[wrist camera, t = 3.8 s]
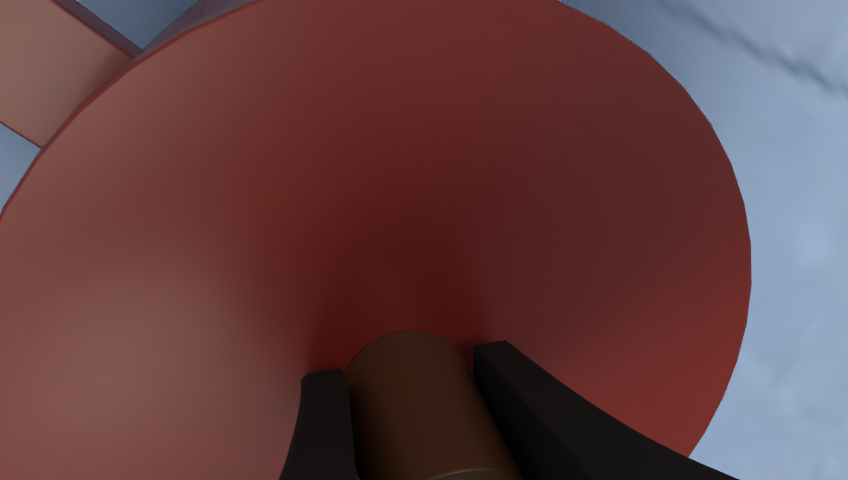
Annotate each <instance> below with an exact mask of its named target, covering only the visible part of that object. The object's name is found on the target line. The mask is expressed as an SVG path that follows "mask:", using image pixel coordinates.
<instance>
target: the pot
mask: <svg viewBox="0 0 848 480" xmlns="http://www.w3.org/2000/svg"><path fill="white" fill-rule="evenodd" d="M242 1H244V0H199V1H198V2H197V3H196V4H194V5H193V6H192V7H191V8H190V9H189V10H187V11H186V12H185V13H184V14H183V15H181V16H180V17H179V18H178V19H177V20H175V21H174V22H173V23H172V24H171V25H169V26H168V27H167V28H166V29H165V30H163V31H162V32H161V33H160V34H159V35H158V36H157V37H156V38H155V39H154V40H153V41H152V42H151V43H150V44H149V45H148V46H147V47H145V48H144V49H143V50H142V49H141V48H139V47H138V46H137V45H135V44H134V43H133V42H131V41H130V40H128V39H127V38H126V37H124V36H123V35H122V34H120V33H119V32H118V31H116V30H115V29H114V28H112V27H111V26H110V25H108V24H107V23H105V22H104V21H103V20H101V19H100V18H99V17H97V16H96V15H95V14H93V13H92V12H91V11H89V10H88V9H87V8H85V7H84V6H82V5H81V4H80V3H78V2H77V1H76V0H0V123H1V124H3V125H4V126H6V127H8V128H9V129H11V130H12V131H14V132H16V133H17V134H19V135H20V136H22V137H24V138H25V139H27V140H28V141H30V142H32V143H33V144H35V145H36V146H38V147H40V148H42V147H43V146H44V145H45V144H46V142H47V141H48V140H49V139H50V138H51V137H52V136H53V134H54V133H55V132H56V131H57V130H58V129H59V128H60V127H61V125H62V124H63V123H64V122H65V121H66V120H67V119H68V118H69V116H70V115H71V114H72V113H73V112H74V111H75V110H76V109H77V107H78V106H79V105H80V104H81V103H82V102H83V101H84V100H85V99H86V98H87V97H88V96H90V95H91V94H92V93H93V92H94V91H96V90H97V89H98V88H99V87H100V86H102V85H103V84H104V83H105V82H106V81H108V80H109V79H110V78H111V77H112V76H114V75H115V74H116V73H117V72H118V71H119V70H121V69H122V68H123V67H124V66H125V65H127V64H128V63H129V62H130V61H131V60H133V59H134V58H136V57H138V56H139V55H141V54H142V53H144V52H146V51H147V50H149V49H150V48H152V47H154V46H155V45H157V44H159V43H160V42H162V41H163V40H165V39H167V38H168V37H170V36H171V35H173V34H175V33H176V32H178V31H180V30H181V29H183V28H184V27H186V26H188V25H190V24H192V23H194V22H197V21H199V20H201V19H203V18H206V17H208V16H210V15H213V14H215V13H217V12H219V11H222V10H224V9H226V8H228V7H231V6H233V5H235V4H238V3H240V2H242Z"/></svg>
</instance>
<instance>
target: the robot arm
mask: <svg viewBox="0 0 848 480" xmlns="http://www.w3.org/2000/svg"><path fill="white" fill-rule="evenodd" d="M473 372H474V380H475V382H476V384H477V386H478V388H479V390H480V392H481V394H482V396H483V398H484V400H485V402H486V404H487V406H488V408H489V410H490V412H491V414H492V416H493V418H494V420H495V422H496V424H497V426H498V428H499V430H500V432H501V434H502V436H503V438H504V440H505V442H506V444H507V446H508V448H509V450H510V452H511V454H512V456H513V459H514V461H515V463H516V465H517V467H518V469H519V471H520V473H521V475H522V477H523V479H524V480H739V479H736V478H734V477H732V476H729V475H727V474H724V473H722V472H720V471H717V470H715V469H713V468H710V467H708V466H705V465H703V464H701V463H699V462H696V461H694V460H692V459H690V458H688V457H686V456H683V455H681V454H679V453H677V452H675V451H673V450H672V449H670V448H668V447H666V446H664V445H662V444H660V443H658V442H656V441H654V440H652V439H650V438H648V437H646V436H645V435H643V434H641V433H639V432H637V431H636V430H634V429H632V428H630V427H629V426H627V425H626V424H624V423H622V422H621V421H619V420H617V419H616V418H614V417H613V416H611V415H609V414H608V413H606V412H604V411H603V410H601V409H600V408H598V407H597V406H595V405H594V404H592V403H591V402H589V401H588V400H586V399H585V398H583V397H582V396H580V395H579V394H577V393H576V392H575V391H573V390H572V389H570V388H569V387H567V386H566V385H565V384H563V383H562V382H561V381H559V380H558V379H556V378H555V377H554V376H552V375H551V374H550V373H548V372H547V371H546V370H544V369H543V368H542V367H540V366H539V365H538V364H536V363H535V362H534V361H532V360H531V359H530V358H529V357H527V356H526V355H525V354H523V353H522V352H521V351H519V350H518V349H517V348H515V347H514V346H513V345H511V344H510V343H509V342H507V341H506V340H503V341H497V342H491V343H485V344H479V345H473ZM279 480H357V470H356V462H355V451H354V441H353V431H352V421H351V411H350V402H349V392H348V388H347V384H346V381H345V378H344V375H343V372H342V369H341V368H339V369H333V370H327V371H321V372H315V373H310V374H306V375H305V376H304V377H303V379H302V380H301V397H300V405H299V411H298V416H297V421H296V425H295V429H294V433H293V436H292V440H291V444H290V447H289V451H288V454H287V458H286V461H285V464H284V466H283V469H282V472H281V475H280V477H279Z"/></svg>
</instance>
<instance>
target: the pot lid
mask: <svg viewBox="0 0 848 480" xmlns="http://www.w3.org/2000/svg"><path fill="white" fill-rule="evenodd" d="M750 292H751V242H750V236H749V230H748V224H747V218H746V212H745V206H744V201H743V198H742V195H741V192H740V189H739V186H738V183H737V180H736V177H735V174H734V171H733V168H732V165H731V162H730V160H729V158H728V156H727V154H726V153H725V151H724V149H723V147H722V145H721V143H720V141H719V139H718V137H717V135H716V133H715V131H714V129H713V127H712V125H711V123H710V122H709V121H708V119H707V118H706V117H705V115H704V114H703V113H702V111H701V110H700V109H699V107H698V106H697V105H696V103H695V102H694V101H693V99H692V98H691V96H690V95H689V94H688V92H687V91H686V90H685V88H684V87H683V86H682V85H681V84H680V83H679V82H678V81H677V80H676V79H675V78H674V77H673V76H672V75H671V74H670V73H668V72H667V71H666V70H665V69H664V68H663V67H662V66H661V65H660V64H659V63H658V62H657V61H656V60H655V59H654V58H653V57H652V56H651V55H650V54H649V53H647V52H646V51H645V50H643V49H642V48H640V47H639V46H637V45H636V44H634V43H633V42H632V41H630V40H629V39H627V38H626V37H624V36H623V35H621V34H620V33H619V32H617V31H616V30H614V29H613V28H611V27H610V26H609V25H607V24H605V23H603V22H601V21H599V20H597V19H595V18H593V17H591V16H588V15H586V14H584V13H582V12H580V11H578V10H576V9H574V8H572V7H570V6H568V5H566V4H564V3H561V2H559V1H557V0H244V1H242V2H240V3H238V4H235V5H233V6H231V7H228V8H226V9H224V10H222V11H219V12H217V13H215V14H213V15H210V16H208V17H206V18H203V19H201V20H199V21H197V22H194V23H192V24H190V25H188V26H186V27H184V28H183V29H181V30H180V31H178V32H176V33H175V34H173V35H171V36H170V37H168V38H167V39H165V40H163V41H162V42H160V43H159V44H157V45H155V46H154V47H152V48H150V49H149V50H147V51H146V52H144V53H142V54H141V55H139V56H138V57H136V58H134V59H133V60H131V61H130V62H129V63H128V64H127V65H125V66H124V67H123V68H122V69H121V70H119V71H118V72H117V73H116V74H115V75H114V76H112V77H111V78H110V79H109V80H108V81H106V82H105V83H104V84H103V85H102V86H100V87H99V88H98V89H97V90H96V91H94V92H93V93H92V94H91V95H90V96H88V97H87V98H86V99H85V100H84V101H83V102H82V103H81V104H80V105H79V106H78V107H77V109H76V110H75V111H74V112H73V113H72V114H71V115H70V116H69V118H68V119H67V120H66V121H65V122H64V123H63V124H62V125H61V127H60V128H59V129H58V130H57V131H56V132H55V133H54V134H53V136H52V137H51V138H50V139H49V140H48V141H47V142H46V144H45V145H44V146H43V147H42V148H41V150H40V151H39V153H38V154H37V155H36V157H35V158H34V160H33V162H32V163H31V165H30V166H29V168H28V169H27V171H26V173H25V174H24V176H23V177H22V179H21V180H20V182H19V183H18V185H17V187H16V188H15V190H14V191H13V193H12V194H11V196H10V197H9V199H8V201H7V202H6V204H5V205H4V207H3V209H2V212H1V214H0V480H279V477H280V475H281V472H282V469H283V466H284V464H285V461H286V458H287V454H288V451H289V447H290V444H291V440H292V436H293V433H294V429H295V425H296V421H297V416H298V411H299V405H300V397H301V380H302V379H303V377H304V376H305V375H306V374H310V373H315V372H321V371H327V370H333V369H339V368H341V369H342V372H343V375H344V378H345V381H346V384H347V388H348V392H349V402H350V411H351V421H352V431H353V441H354V451H355V462H356V470H357V480H524V479H523V477H522V475H521V473H520V471H519V469H518V467H517V465H516V463H515V461H514V459H513V456H512V454H511V452H510V450H509V448H508V446H507V444H506V442H505V440H504V438H503V436H502V434H501V432H500V430H499V428H498V426H497V424H496V422H495V420H494V418H493V416H492V414H491V412H490V410H489V408H488V406H487V404H486V402H485V400H484V398H483V396H482V394H481V392H480V390H479V388H478V386H477V384H476V382H475V380H474V372H473V345H479V344H485V343H491V342H497V341H503V340H506V341H507V342H509V343H510V344H511V345H513V346H514V347H515V348H517V349H518V350H519V351H521V352H522V353H523V354H525V355H526V356H527V357H529V358H530V359H531V360H532V361H534V362H535V363H536V364H538V365H539V366H540V367H542V368H543V369H544V370H546V371H547V372H548V373H550V374H551V375H552V376H554V377H555V378H556V379H558V380H559V381H561V382H562V383H563V384H565V385H566V386H567V387H569V388H570V389H572V390H573V391H575V392H576V393H577V394H579V395H580V396H582V397H583V398H585V399H586V400H588V401H589V402H591V403H592V404H594V405H595V406H597V407H598V408H600V409H601V410H603V411H604V412H606V413H608V414H609V415H611V416H613V417H614V418H616V419H617V420H619V421H621V422H622V423H624V424H626V425H627V426H629V427H630V428H632V429H634V430H636V431H637V432H639V433H641V434H643V435H645V436H646V437H648V438H650V439H652V440H654V441H656V442H658V443H660V444H662V445H664V446H666V447H668V448H670V449H672V450H673V451H675V452H677V453H679V454H681V455H683V456H686V457H689V456H690V454H691V453H692V451H693V450H694V448H695V447H696V445H697V444H698V442H699V441H700V439H701V438H702V436H703V435H704V433H705V431H706V429H707V427H708V426H709V424H710V422H711V420H712V418H713V416H714V414H715V412H716V410H717V408H718V406H719V404H720V402H721V401H722V399H723V396H724V394H725V391H726V389H727V386H728V383H729V381H730V378H731V376H732V373H733V370H734V368H735V365H736V363H737V359H738V355H739V352H740V348H741V344H742V340H743V336H744V332H745V328H746V324H747V317H748V308H749V300H750Z"/></svg>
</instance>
